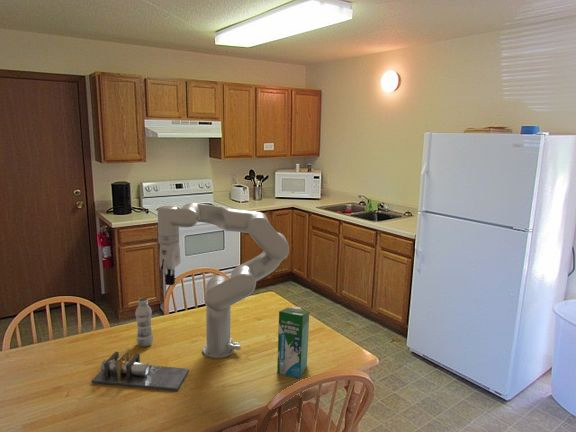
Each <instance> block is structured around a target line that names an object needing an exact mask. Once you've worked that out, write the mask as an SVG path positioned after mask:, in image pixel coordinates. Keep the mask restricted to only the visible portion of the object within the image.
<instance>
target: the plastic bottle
mask: <svg viewBox="0 0 576 432" xmlns="http://www.w3.org/2000/svg"><path fill="white" fill-rule="evenodd" d="M137 305H138V306H137V308H136V309H135V314H134V315H135V318H136V324H137V326H136V328H137V330H136V333H137V335H136V343H137V345H138V346H139V347H141V348H145V347H149V346H150V345H152V343H153V342H154V336H153V332H152V314H153V311H152V308H151V307H150V306H149V299H148V298H147V297H141V298H139V299H138V303H137Z"/></svg>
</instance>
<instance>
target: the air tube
mask: <svg viewBox="0 0 576 432" xmlns="http://www.w3.org/2000/svg"><path fill="white" fill-rule="evenodd" d="M107 360H108V359H103V361H102V362H101V365H100V371H104V372H105V369H104V363H105V362H106V361H107ZM127 364H128V362H126V360H124V361H122V360H121V372H122V374H123V373H126V365H127ZM109 367H110V372H116V373H117V361H115V360H114V359H113V360H112V361H111V363H110V364H109ZM148 370H149V363H147V362H140V363H138V362H134V363H133V364H132V365H131V374H138V375H146V374H147V373H148Z"/></svg>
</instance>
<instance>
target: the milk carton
mask: <svg viewBox="0 0 576 432" xmlns="http://www.w3.org/2000/svg"><path fill="white" fill-rule="evenodd" d="M309 330H310V311H308V310H303V309H302V307H300V306H290V307H286V308H284V309H282V310H280V311H278V335H277V343H278V344H277V367H276V371H277V372H276V373H277V374H279V373H280V374H279V375H283V374H285V375H284V376H287V375H290V376H289V377H292V376H294V377H293V378H296V377H298V378H297V379H301V378H302V376H301V375H303V374H304V372H305V370H306V368H307V366H308V351H309V350H308V349H309Z"/></svg>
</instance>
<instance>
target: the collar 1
mask: <svg viewBox="0 0 576 432" xmlns="http://www.w3.org/2000/svg"><path fill="white" fill-rule="evenodd" d="M119 353H120V351H115V352H114V353H112V355H110V356H109V357H108V359H106V360H107V361H106V362H105V363H104V369H105V378H109V377H110V367H109V364H110V363H111V361H112V360H115V361H117V359H118V358H119V356H120V354H119Z"/></svg>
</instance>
